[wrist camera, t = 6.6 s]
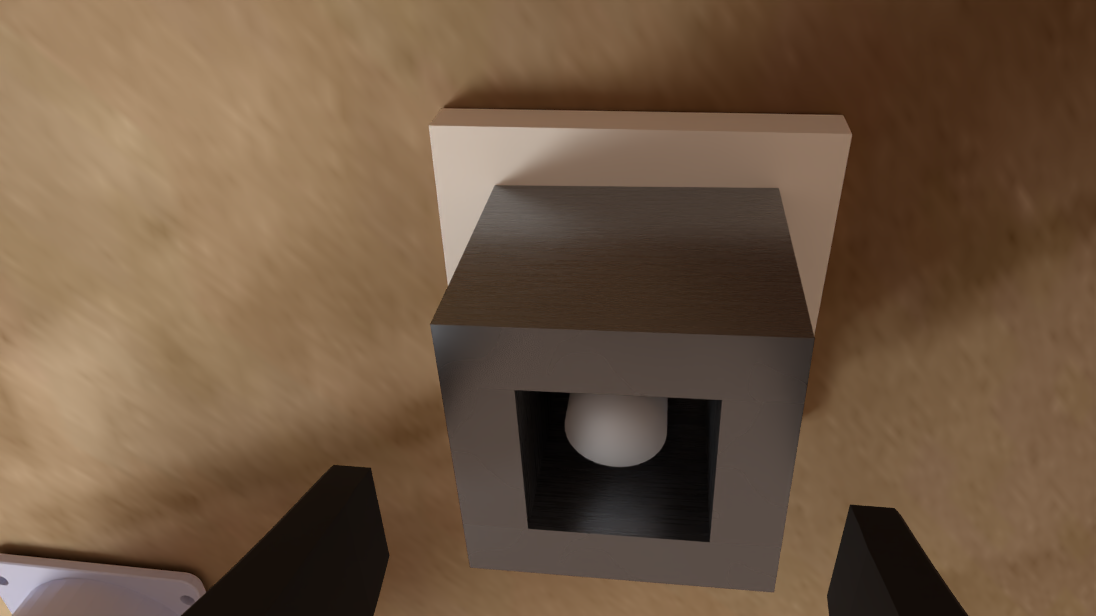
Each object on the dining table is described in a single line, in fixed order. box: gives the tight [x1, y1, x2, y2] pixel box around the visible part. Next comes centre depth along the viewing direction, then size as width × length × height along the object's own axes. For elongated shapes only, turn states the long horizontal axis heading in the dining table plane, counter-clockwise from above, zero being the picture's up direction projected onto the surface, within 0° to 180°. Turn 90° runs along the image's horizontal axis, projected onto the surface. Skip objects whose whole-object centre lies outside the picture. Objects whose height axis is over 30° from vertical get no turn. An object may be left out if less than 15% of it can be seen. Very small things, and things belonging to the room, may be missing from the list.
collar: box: [430, 185, 815, 592], centre depth 15 cm, size 6×6×5 cm
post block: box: [429, 108, 852, 467], centre depth 16 cm, size 8×8×5 cm
